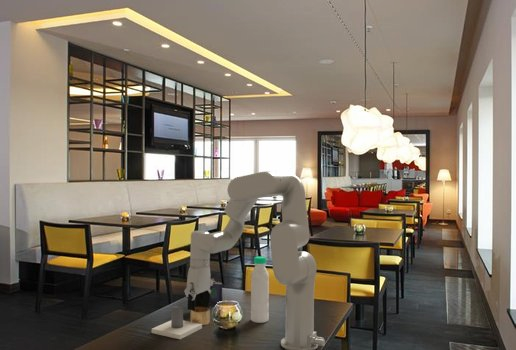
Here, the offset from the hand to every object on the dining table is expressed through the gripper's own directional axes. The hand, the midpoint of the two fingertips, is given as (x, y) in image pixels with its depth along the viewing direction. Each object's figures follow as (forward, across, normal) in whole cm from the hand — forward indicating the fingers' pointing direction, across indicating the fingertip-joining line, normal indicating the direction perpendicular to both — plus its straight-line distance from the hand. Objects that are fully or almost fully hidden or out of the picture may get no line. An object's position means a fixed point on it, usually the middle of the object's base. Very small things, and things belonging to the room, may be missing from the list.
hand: (199, 306), depth 178 cm
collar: (+6, 0, +1) cm, 6 cm away
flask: (+7, -24, -10) cm, 27 cm away
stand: (+6, +12, -1) cm, 13 cm away
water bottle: (+6, -14, +20) cm, 25 cm away
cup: (+6, -12, -7) cm, 16 cm away
